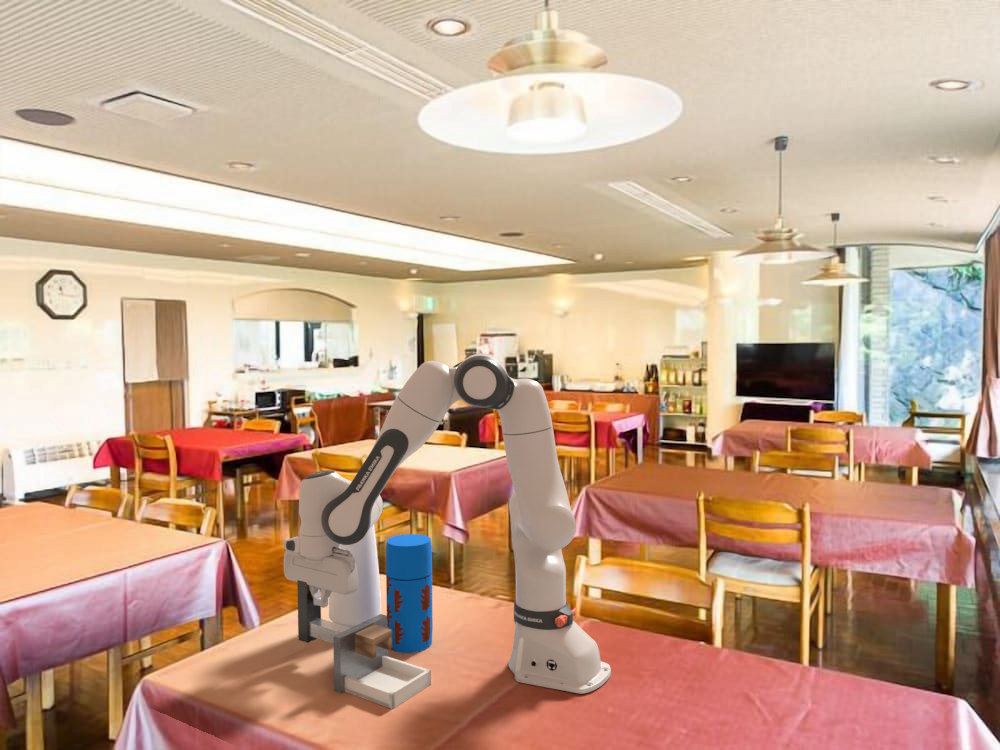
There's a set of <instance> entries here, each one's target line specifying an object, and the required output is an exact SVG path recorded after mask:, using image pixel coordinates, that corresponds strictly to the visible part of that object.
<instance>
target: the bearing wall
mask: <svg viewBox="0 0 1000 750" xmlns="http://www.w3.org/2000/svg"><path fill="white" fill-rule="evenodd" d="M374 624H375V625H378V626H381V627H384V628H388V625H387V614H386V615H384V614H382V613H381V614H380V615H378V616H375V617H373V618H371V619H369V620H367V621H365V622H363V623H360V624H358V625H356V626H354V627H352V628H350V629H348V630H345V631H343V632H341V633H339V634H337V635H335V636H333V642H334V644H333V689H334V690H333V691H334V692H336V693H339V694H343V693H346V692H345V677H346V676H350V677H353V678H355V679H358V680H359V679H361V678H363V677H365V676H367V675H368V674H370V673H372V672H374V671H376V670H377V669H379V668H381V667H382V657H383V656H388V657H389V653H388V652H389V650H387V649H384V648H381V647H378V646H376V657H375V658H370V657H367V656H364V655H361V654H358V653H355V633H358V632H360V631H362V630H364V629H366V628H368V627H370V626H372V625H374Z"/></svg>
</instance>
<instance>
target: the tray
mask: <svg viewBox="0 0 1000 750" xmlns="http://www.w3.org/2000/svg"><path fill="white" fill-rule="evenodd" d="M431 685H432V670H430V669H428V668H424V667H421V666H419V665H415V664H413V663H409V662H406V661H402V660H400V659H396V658H393V657H392V656H391V657H390V656H389V655H388V656H383V657H382V667H381V668H379V669H377V670H376V671H374V672H372V673H370V674H368V675H367V676H365V677H363V678H361V679H359V680H358V679H355V678H353V677H350V676H346V677H345V692H344V693H348V694H350V695H352V696H353V695H354V696H356V697H359V698H360V699H364V700H366V701H369V702H371V703H375V704H378V705H380V706H382V707H384V708H388V709H390V710H393V709H394V708H395V709H396V707H398V706H400V705H401V704H403V703H404V702H405V701H408V700H409V699H411V698H412V697H414V696H415V695H417V694H418V693H420V692H421V691H423V690H424V689H426V688H428V687H429V686H431Z"/></svg>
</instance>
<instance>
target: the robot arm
mask: <svg viewBox="0 0 1000 750" xmlns="http://www.w3.org/2000/svg"><path fill="white" fill-rule="evenodd" d="M461 400H463V401H464V402H465V403H467V404H468V405H470V406H473V407H477V408H482V409H483V408H485V409H489V410H490V409H491V410H495V411H497V412H498V415H499V419H500V423H501V425H500V426H501V430H502V431H501V432H502V437H503V444H504V450H505V458H506V464H507V470H508V473H509V475H510V479H511V482H512V485H513V490H514V492H513V493H512V494H511V497H510V499H509V503H508V510H509V517H510V519H509V521H510V529H511V530H510V531H511V541H512V549H513V555H514V566H515V600H514V602H513V620H514V621H513V622H514V624H515V625H514V636H513V644H512V650H511V654H510V657H509V661H508V667H509V669H510V671H511V672H512V673H513V674H514V680H515V681H516V682H517V683H522V684H527V685H532V686H536V687H537V686H538V687H543V688H547V689H553V690H558V691H559V690H560V691H563V692H564V691H565V692H568V693H569V692H570V693H575V694H579V695H580V694H582V695H583V694H587V693H591V692H593V691H595V690H597V689H598V688H600V687H602V686H603V685H604V684H605V683H606V682H607V681H608V680H609V678H610V677H611V675H612V669H611V666H610V664H609V663H607V662H604V661H602V659H601V654H600V649H599V646H598V644H597V642H596V641H595V640H594V639H593V638H592V637H591V636H590V635H589V634H588V633H587V632H585V631H584V629H582V628H581V627H580V625H579V624H577V623H576V622H575V621H574V617H573V616H574V615H576V613H577V607H574V608H573V609H571V608H570V606H569V604H568V601H567V596H566V595H567V591H566V590H567V584H566V583H567V582H566V580H567V575H566V574H567V569H566V564H565V560H564V556H563V555H564V554H563V549H564V548H565V547H567V546H568V545H569V544H570V543H571V542H572V541H573V539H574V537H575V534H576V531H577V522H576V519H575V516H574V513H573V510H572V507H571V503H570V498H569V496H568V495H569V494H568V491H567V487H566V485H565V481H564V477H563V474H562V470H561V467H560V464H559V463H560V462H559V458H558V453H557V451H558V450H557V446H556V439H555V438H556V437H555V433H554V426H553V425H554V424H553V419H552V414H551V410H550V406H549V402H548V400H547V396H546V393H545V391H544V388H543V386H542V385H541V383H539V382H538V381H536V380H534V379H531V378H512V377H511V376H510V375H509V374H508V371H507V370H506V367H505V366H504V365H503V363H502V361H500V360H499V358H497V357H495V356H494V355H491V354H489V353H475V354H471V355H468V357H465V359H464V360H462V361H461V362H459V363H457V364H455V365H453V366H449V365H447V364H446V363H444V362H441V361H439V360H428V361H424V362H423V363H421V364H420V365H419V366H418V368H417V369H416V370H415V371H414V372H413V373H412V374H411V376H410V377H409V378H408V379H407V381H406V382H405V384H403V386H402V388H401V389H400V391H399V393H398V395H397V396H396V398H395V399H394V401H393V403H392V404H391V406H390V409H389V411H388V413H387V415H386V417H385V419H384V422H383V424H382V427H381V429H380V431H379V434H378V436H377V439H376V440H375V443H374V445H373V446H372V449H371V451H370V452H369V454H368V455H367V457H366V459H364V462H363V464H362V465H361V467H360V468H359V470H358V472H357V473H356V475H355V476H354V477H353V479H352V480H349V479H347V478H345V477H343V476H342V475H340V473H338V472H337V471H335V470H330V469H329V470H328V469H327V470H320V471H316V472H314V473H310V474H308V475H307V476H306V477H304V478H303V479H302V480H301V483H300V488H299V497H298V515H299V517H300V526H299V529H298V530H299V535H297V536H295V537H291V538H290V537H289V538H288V539H285V540H284V541H283V549H284V550H285V551H284V554H283V574H284V577H285V578H286V579H287V581H290V582H291V581H292V582H296V583H297V580H299V581H303V582H307V585H309V590H310V592H311V594H312V596H313V598H314V605H315V606H319V607H321V609H322V608H326V607H329V596H330V594H331V592H336V593H339V594H343V595H347V594H350V593H353V592H355V591H356V590H357V588H358V574H357V567H356V563H355V558H354V556H353V555H352V554H351V553H350V551H348V550H343V549H341V544H342V545H351V544H355V543H357V542H359V541H360V540H361V539H362V538H363V537H364V536H365V535H366V533H367V532H368V530H369V529H370V528H371V527H372V526H373V525H374V526H375V524H376V522H378V520H379V519H380V518H381V517H382V514H383V511H384V500H383V497H382V496H381V493H382V492H383V490H384V488H385V487H386V485H387V484H388V482H389V480H390V479H391V477H392V476H393V474H395V471H396V470H397V469H398V468H399V467H400V466H401V465H402V464H403V463H404V462H405V461H406V460H407V459H408V458H409V457H410V456H412V455H413V454H414V453H416V452H417V451H419V450H420V448H422V446H424V445H425V444H426V442H427V441H428V440H429V439H430V438H431V437H432V435H433V434H435V432H436V430H437V429H438V427H439V426H440V424H441V423H442V421H443V419H444V417H445V415H446V414H447V412H448V411H449V409H450V408H451V407H452V406H453V404H455V403H456V402H458V401H461ZM319 588H320V589H319ZM320 591H321V592H320Z"/></svg>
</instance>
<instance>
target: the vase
mask: <svg viewBox="0 0 1000 750" xmlns="http://www.w3.org/2000/svg"><path fill="white" fill-rule="evenodd" d="M341 549H343V550H348V551H350V553H351V554H352V555H353V556H354V558H355V563H356V567H357V574H358V588H357V590H356V591H355V592H353V593H350V594H347V595H343V594H339V593H336V592H331V594H330V596H329V598H328V618H329V621H330V622H334V623H337V624H340V625H344V626H347V627H350V628H352V627H354V626H356V625H358V624H360V623H363V622H365V621H367V620H369V619H371V618H373V617H375V616H378V615H380V614H382V595H381V581H380V579H381V578H380V571H379V567H380V566H379V559H378V556H379V555H378V548H377V535H376V527H375V524H374V525H373V526H372V527H371V528H370V529H369V530H368V532H367V533H366V535H365V536H364V537H363V538H362V539H361V540H360V541H359V542H357V543H355V544H351V545H342V544H341Z"/></svg>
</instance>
